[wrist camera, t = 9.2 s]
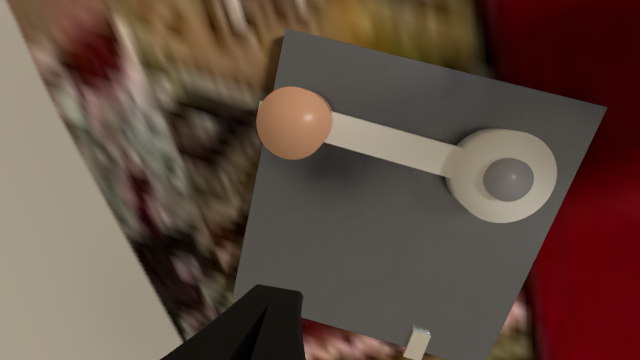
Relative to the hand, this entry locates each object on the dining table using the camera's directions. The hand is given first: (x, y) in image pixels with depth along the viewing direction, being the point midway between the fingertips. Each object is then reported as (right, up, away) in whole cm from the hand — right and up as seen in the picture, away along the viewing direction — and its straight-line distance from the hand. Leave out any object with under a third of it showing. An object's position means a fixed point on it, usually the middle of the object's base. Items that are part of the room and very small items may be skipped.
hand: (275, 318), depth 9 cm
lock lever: (+5, +5, +6) cm, 10 cm away
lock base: (+5, +2, +8) cm, 10 cm away
